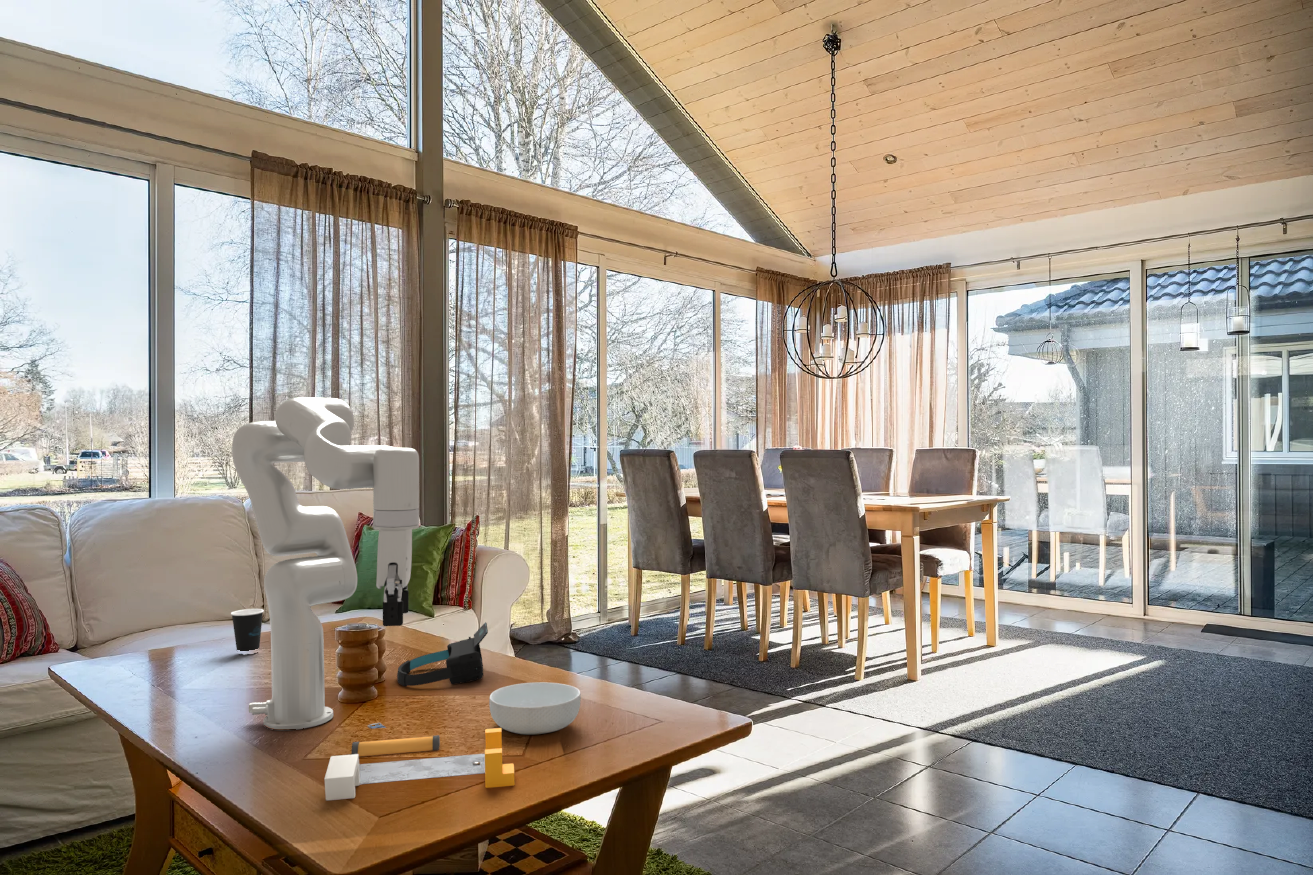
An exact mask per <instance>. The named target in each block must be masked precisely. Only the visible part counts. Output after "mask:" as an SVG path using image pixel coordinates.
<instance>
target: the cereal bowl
mask: <svg viewBox="0 0 1313 875" xmlns="http://www.w3.org/2000/svg"><path fill="white" fill-rule="evenodd" d="M581 698H582V696H581V691H580V689H579V688H578V687H575V686H573V685H570V684H564V683H561V682H560V683H558V682H546V681H544V682H543V681H542V682H540V681H539V682H524V683H523V682H522V683H516V684H511V685H507V686H503V687H500V688H497V689H496V690H494V691H492V692H491V693H490V695H489V699H488V700H489V712H490V715H491V718H492V720H493V721H494V722H495V723H496V725H497V726H498V727H499V728H501V729H502V730H505V731H508V732H509V733H510V732H511V733H514V734H519V735H541V734H548V733H549V734H550V733H553V732H557V731H560V730H562V729H564V728H566V727H568V726H569V725H571V724H572V723H573V722H574V720H575V719H576V718H577V716H578V714H579V711H580V708H581Z"/></svg>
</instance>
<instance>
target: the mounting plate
mask: <svg viewBox="0 0 1313 875" xmlns="http://www.w3.org/2000/svg"><path fill="white" fill-rule="evenodd" d="M359 769H360V785H368V784H379V783H391V782H402V781H403V782H404V781H412V780H423V779H434V778H435V779H437V778H446V777H458V776H468V775H480V774H481V775H482V774H485V753H475V754H464V755H452V756H443V757H429V758H420V759H419V758H418V759H408V760H407V759H406V760H404V759H403V760H393V761H392V760H391V761H382V762H371V763H359Z"/></svg>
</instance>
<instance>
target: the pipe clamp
mask: <svg viewBox="0 0 1313 875" xmlns="http://www.w3.org/2000/svg"><path fill="white" fill-rule="evenodd" d="M502 730H503V729H502V728H501V727H495V728H485V731H484V732H485V734H484V735H485V738H484V739H485V749H484V754H485V773H484V780H485V781H484V784H485V786H484V787H485V789H493V788H502V787H512V786H515V765H514V763H513V762H512V763H503V742H502V741H503V740H502V738H503V737H502V733H503V732H502Z"/></svg>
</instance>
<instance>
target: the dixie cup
mask: <svg viewBox="0 0 1313 875" xmlns="http://www.w3.org/2000/svg"><path fill="white" fill-rule="evenodd" d="M264 612H265V610H264V609H262V608H245V609H238V610H234V611H231V612H230V616H231V617H232V624H233V626H232V627H233V631H234V632H233V634H234V640H235V647H236V651H237V650H240V651H249V650H255V649H258V648H259V649H260V644H261V634H262V626H263V613H264ZM259 649H258V650H259Z"/></svg>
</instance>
